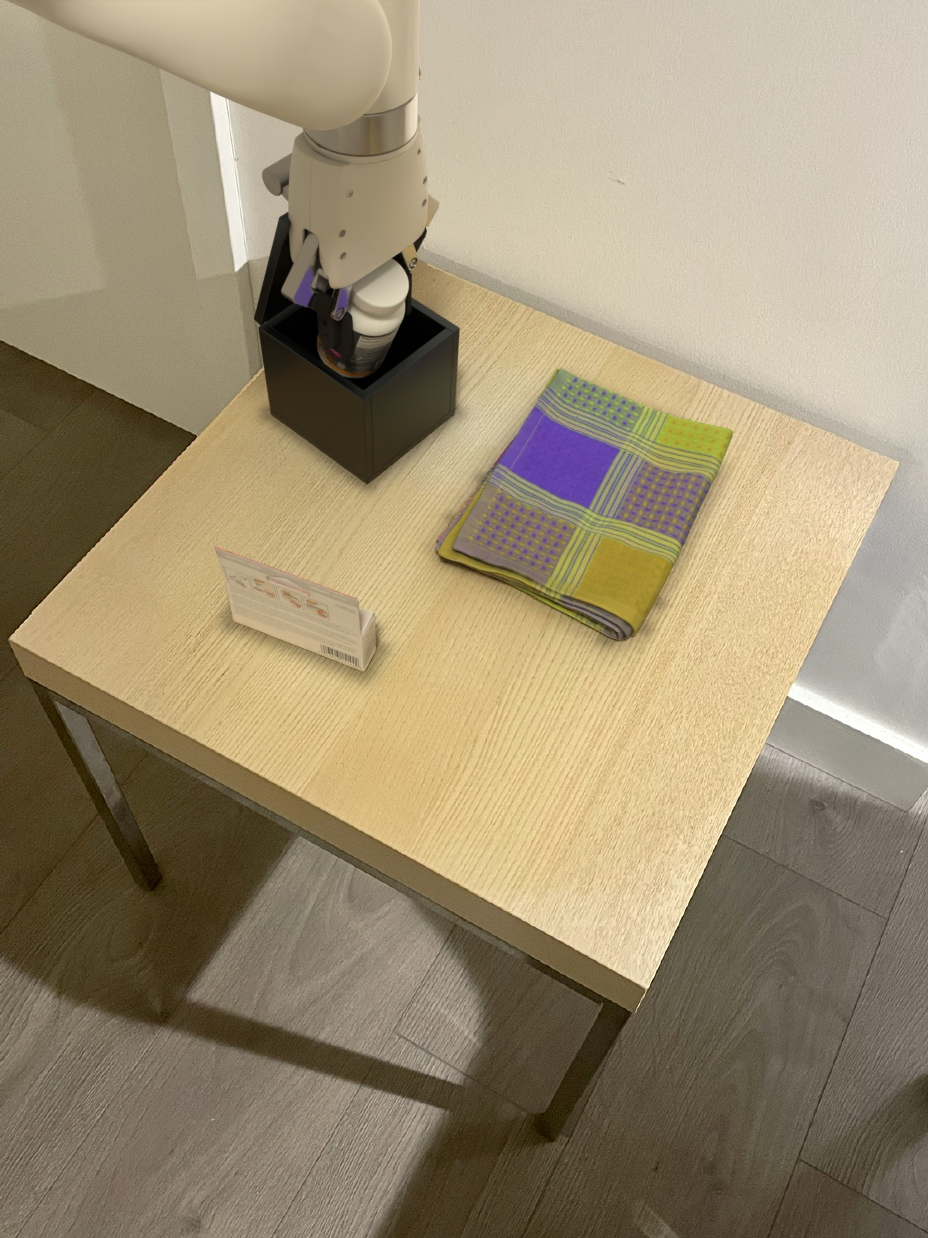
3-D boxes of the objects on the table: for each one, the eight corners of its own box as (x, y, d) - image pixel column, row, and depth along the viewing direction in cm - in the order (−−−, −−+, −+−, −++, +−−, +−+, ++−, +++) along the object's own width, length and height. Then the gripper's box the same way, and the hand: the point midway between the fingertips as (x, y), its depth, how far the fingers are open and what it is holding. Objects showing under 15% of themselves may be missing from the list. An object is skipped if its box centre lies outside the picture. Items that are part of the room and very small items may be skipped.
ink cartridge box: (246, 599, 82) (229, 519, 74) (378, 649, 81) (375, 574, 72) (230, 623, 81) (211, 546, 73) (364, 675, 79) (359, 601, 71)
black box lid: (397, 155, 78) (347, 102, 78) (286, 225, 73) (233, 168, 73) (358, 259, 89) (314, 213, 89) (260, 325, 84) (214, 277, 84)
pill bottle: (304, 329, 87) (327, 253, 78) (367, 314, 90) (396, 239, 81) (332, 389, 86) (359, 319, 77) (395, 372, 89) (428, 302, 80)
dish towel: (738, 450, 93) (747, 428, 91) (625, 658, 81) (631, 639, 79) (558, 375, 97) (561, 352, 95) (424, 563, 85) (425, 542, 83)
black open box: (455, 413, 94) (460, 327, 86) (367, 484, 89) (363, 400, 81) (359, 349, 98) (355, 260, 90) (270, 414, 93) (257, 326, 85)
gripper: (407, 36, 74) (404, 254, 89) (219, 139, 66) (251, 358, 81) (490, 81, 72) (473, 297, 87) (304, 192, 64) (321, 408, 79)
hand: (365, 325), depth 84 cm, fingers closed on pill bottle, 5 cm apart
